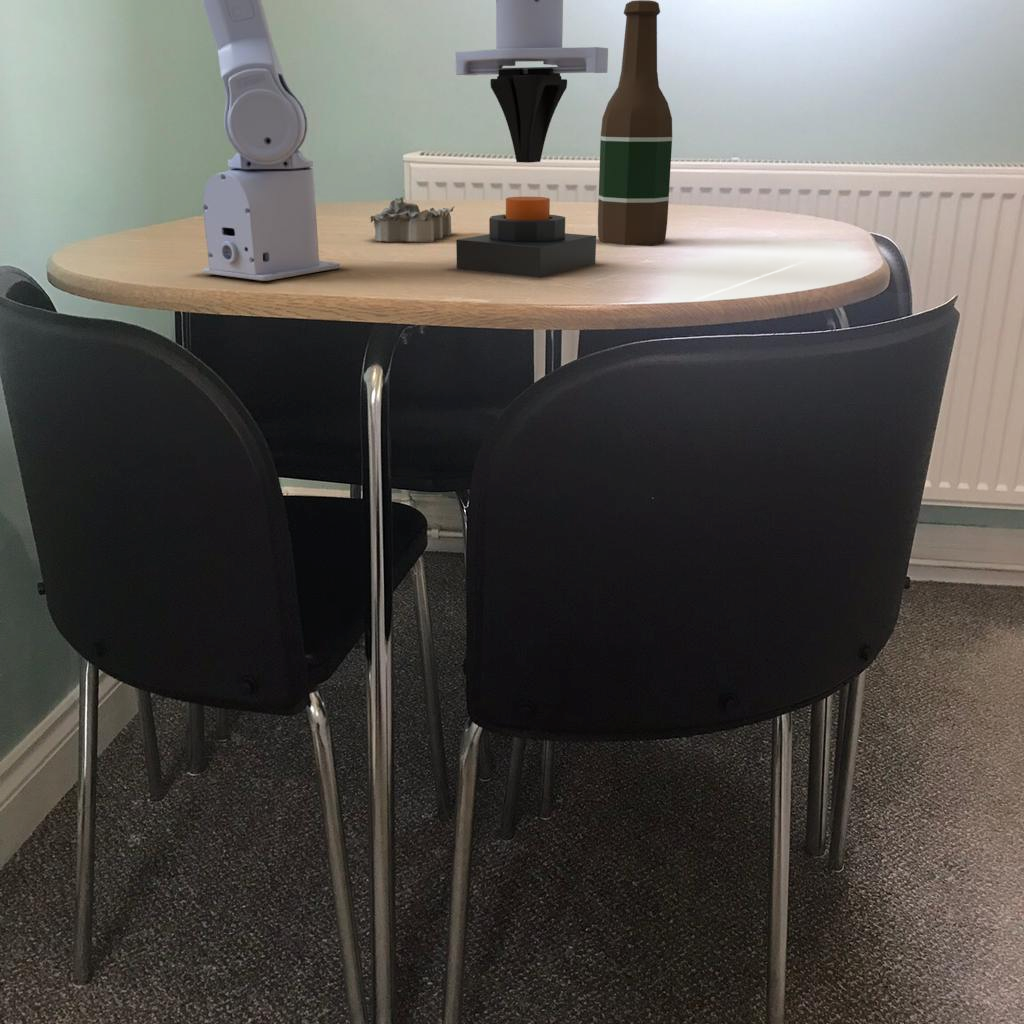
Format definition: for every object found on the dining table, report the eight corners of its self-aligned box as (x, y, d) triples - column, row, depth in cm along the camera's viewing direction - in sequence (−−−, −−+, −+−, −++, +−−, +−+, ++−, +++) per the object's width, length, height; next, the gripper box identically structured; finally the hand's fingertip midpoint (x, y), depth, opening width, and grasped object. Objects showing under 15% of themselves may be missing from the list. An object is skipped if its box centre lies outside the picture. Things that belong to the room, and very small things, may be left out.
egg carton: (401, 232, 121) (400, 196, 120) (460, 234, 119) (460, 198, 118) (364, 241, 112) (362, 203, 110) (427, 244, 110) (427, 205, 108)
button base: (539, 278, 88) (540, 225, 87) (456, 269, 93) (455, 218, 91) (595, 264, 96) (597, 215, 94) (516, 257, 101) (516, 210, 99)
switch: (534, 224, 90) (534, 201, 90) (497, 222, 92) (497, 198, 92) (557, 221, 94) (557, 197, 93) (521, 218, 96) (521, 195, 95)
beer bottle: (589, 244, 110) (597, -2, 102) (604, 236, 117) (612, 5, 108) (660, 247, 108) (674, -4, 99) (671, 238, 115) (685, 4, 106)
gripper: (627, -8, 85) (620, 162, 90) (486, 1, 93) (487, 158, 98) (586, -16, 80) (581, 166, 85) (439, -6, 87) (443, 161, 92)
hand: (528, 162), depth 91 cm, fingers closed
